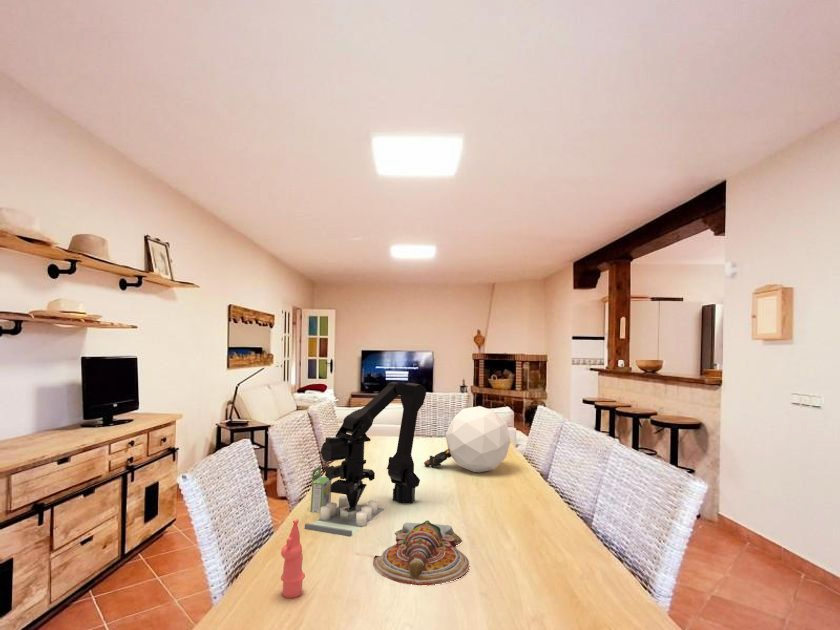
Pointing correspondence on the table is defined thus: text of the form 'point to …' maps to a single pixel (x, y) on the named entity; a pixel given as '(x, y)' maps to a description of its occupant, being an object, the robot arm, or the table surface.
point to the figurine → (292, 564)
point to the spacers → (331, 508)
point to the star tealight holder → (347, 513)
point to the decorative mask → (423, 555)
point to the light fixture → (475, 440)
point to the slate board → (339, 524)
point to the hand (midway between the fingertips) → (352, 509)
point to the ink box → (320, 491)
